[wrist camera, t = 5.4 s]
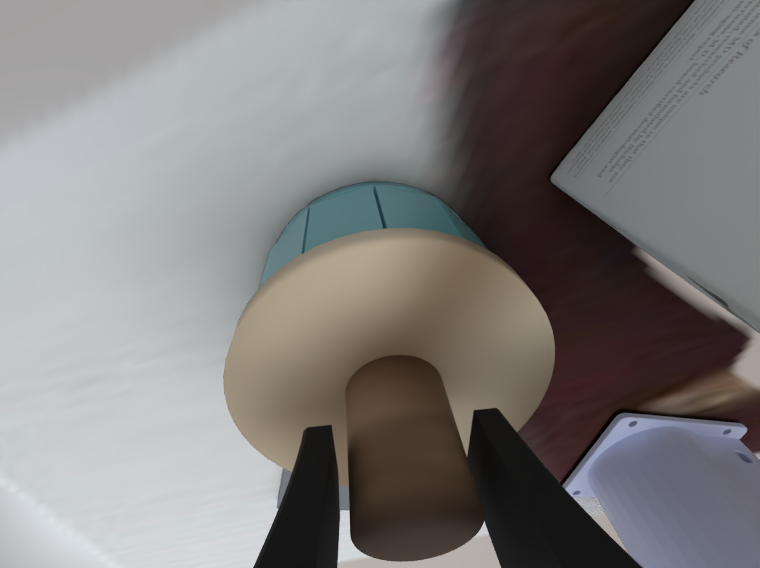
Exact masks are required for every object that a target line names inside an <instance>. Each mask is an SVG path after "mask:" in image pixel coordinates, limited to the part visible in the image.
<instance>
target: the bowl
mask: <svg viewBox="0 0 760 568" xmlns="http://www.w3.org/2000/svg"><path fill="white" fill-rule="evenodd" d="M386 228H415V229H424V230H432V231H438V232H442V233H446V234H450V235H454V236H458V237H461V238H463V239H466V240H468V241H471V242H473V243H476V244H478V245H480V246H482V247H484V248H485V249H487V248H486V247H485V245H484V244H483V243H482V241H481V240H480V238H479V237H478V236H477V235H476V234H475V233H474V232H473V231H472V230H471V229H470V228H469V227H468V226H467V225H466V224H465V223H464V222H463V220H462V219H461V218H460V217H459V216H458V215H457V214H456V212H455V211H454V210H453V209H452V208H450V207H449V206H448V205H447V204H446V203H444V202H443V201H442V200H440V199H439V198H437V197H435V196H433V195H432V194H430V193H427V192H425V191H423V190H420V189H418V188H415V187H411V186H408V185H404V184H398V183H391V182H367V183H359V184H354V185H350V186H346V187H342V188H339V189H337V190H334V191H332V192H329V193H327V194H325V195H323V196H321V197H319V198H318V199H316V200H314V201H312V202H311V203H310V204H309V205H307V206H306V207H305V208H303V209H302V210H301V211H300V212H299V213H298V214H297V215H296V216H295V217H294V218H293V219H292V220H291V221H290V222H289V223H288V225H287V226H286V227H285V229H284V230H283V231H282V233H281V235H280V237H279V239H278V241H277V242H276V244H275V245H274V247H273V248H272V249H271V250H270V252H269V254H268V258H267V261H266V265H265V268H264V271H263V275H262V278H261V282H260V285H259V288H260V286H261V285H262V284H264V283H265V282H266V281H267V280H268V279H269V278H270V277H271V276H272V275H273V274H274V273H275V272H276V271H277V270H279V269H280V268H281V267H283V266H284V265H286V264H287V263H288V262H290V261H291V260H293V259H294V258H295V257H297V256H299V255H301V254H303V253H305V252H307V251H308V250H310V249H312V248H314V247H316V246H318V245H321V244H324V243H326V242H329V241H331V240H334V239H337V238H339V237H343V236H347V235H351V234H355V233H359V232H363V231H371V230H379V229H386ZM259 288H258V289H259Z"/></svg>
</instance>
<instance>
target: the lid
mask: <svg viewBox="0 0 760 568" xmlns="http://www.w3.org/2000/svg"><path fill="white" fill-rule="evenodd" d="M554 362H555V343H554V337H553V331H552V328H551V325H550V322H549V320H548V317H547V314H546V313H545V311H544V309H543V308H542V306H541V304H540V303H539V301H538V299H537V298H536V297H535V295H534V294H533V293H532V292H531V290H530V289H529V288H528V286H527V285H526V284H525V283H524V281H523V280H522V279H521V278H520V277H519V276H518V274H517V273H516V272H515V271H514V270H513V269H512V268H511V267H510V266H509V265H508V264H507V263H506V262H504V261H503V260H502V259H501V258H499V257H498V256H497V255H495V254H494V253H492V252H490V251H489V250H487V249H485V248H484V247H482V246H480V245H478V244H476V243H473V242H471V241H468V240H466V239H463V238H461V237H458V236H454V235H450V234H446V233H442V232H438V231H432V230H424V229H415V228H386V229H379V230H371V231H363V232H359V233H355V234H351V235H347V236H343V237H339V238H337V239H334V240H331V241H329V242H326V243H324V244H321V245H318V246H316V247H314V248H312V249H310V250H308V251H307V252H305V253H303V254H301V255H299V256H297V257H295V258H294V259H293V260H291V261H290V262H288V263H287V264H286V265H284V266H283V267H281V268H280V269H279V270H277V271H276V272H275V273H274V274H273V275H272V276H271V277H270V278H269V279H268V280H267V281H266V282H265V283H264V284H262V285H261V286H260V288H259V289H258V290H257V292H256V293H255V294H254V296H253V297H252V298H251V299H250V301H249V302H248V304H247V306H246V307H245V309H244V311H243V313H242V315H241V317H240V319H239V321H238V324H237V327H236V330H235V333H234V336H233V339H232V342H231V345H230V348H229V351H228V354H227V357H226V362H225V369H224V376H223V378H224V394H225V398H226V402H227V406H228V409H229V412H230V414H231V416H232V419H233V421H234V423H235V424H236V426H237V427H238V429H239V430H240V432H241V433H242V435H243V436H244V437H245V438H246V439H247V441H248V442H249V443H250V444H251V445H252V446H253V447H254V448H255V449H256V450H258V451H259V452H260V453H261V454H262V455H264V456H265V457H266V458H268V459H269V460H271V461H272V462H274V463H276V464H277V465H279V466H280V467H283V468H285V469H287V470H289V471H291V472H292V471H293V468H294V465H295V462H296V459H297V455H298V452H299V448H300V444H301V440H302V436H303V431H304V430H305V429H306V428H307V427H314V426H324V425H332V431H333V438H334V445H335V452H336V459H337V466H338V473H339V485H341V486H349V507H350V534H351V540H352V542H353V544H354V545H355V547H356V548H357V549H358V550H360V551H361V552H362V553H364V554H366V555H368V556H371V557H373V558H377V559H381V560H387V561H417V560H422V559H428V558H432V557H436V556H439V555H442V554H445V553H448V552H450V551H452V550H455V549H457V548H458V547H460V546H462V545H464V544H465V543H466V542H468V541H469V540H471V539H472V538H473V537H474V536H475V535H476V534H477V533H478V532H479V530H480V529H481V527H482V525H483V522H484V517H485V514H484V509H483V506H482V503H481V500H480V497H479V494H478V491H477V488H476V484H475V481H474V478H473V475H472V472H471V469H470V466H469V462H468V459H467V454H468V447H469V440H470V433H471V426H472V419H473V412H474V410H480V409H489V408H497V409H499V410H500V411H501V412H502V414H503V415H504V416H505V418H506V419H507V420H508V422H509V423H510V424H511V426H512V427H513V428H514V429H515V431H516V432H518V431H519V430H520V428H521V427H522V426H523V425H524V424H525V423H526V422H527V421H528V420H529V419H530V417H531V416H532V414H533V413H534V412H535V410H536V409H537V407H538V406H539V404H540V402H541V401H542V399H543V397H544V395H545V393H546V391H547V388H548V386H549V383H550V380H551V377H552V373H553V367H554Z"/></svg>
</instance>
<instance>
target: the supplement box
mask: <svg viewBox="0 0 760 568" xmlns="http://www.w3.org/2000/svg"><path fill="white" fill-rule="evenodd" d="M551 182H552V183H553V184H554V185H556V186H557V187H558V188H560V189H561V190H562V191H564V192H565V193H567V194H568V195H569V196H571V197H572V198H573V199H575V200H576V201H577V202H579V203H580V204H582V205H583V206H584V207H586V208H587V209H588V210H590V211H591V212H592V213H594V214H595V215H596V216H598V217H599V218H600V219H602V220H603V221H605V222H606V223H607V224H609V225H610V226H611V227H613V228H614V229H615V230H617V231H618V232H619V233H621V234H622V235H623V236H625V237H626V238H627V239H629V240H630V241H631V242H633V243H634V244H635V245H637V246H638V247H640V248H641V249H642V250H644V251H645V252H647V253H648V254H649V255H651V256H652V257H654V258H655V259H656V260H658V261H659V262H660V263H662V264H663V265H665V266H666V267H667V268H669V269H670V270H672V271H673V272H674V273H676V274H677V275H679V276H680V277H681V278H683V279H684V280H685V281H687V282H688V283H690V284H691V285H692V286H694V287H695V288H696V289H698V290H699V291H700V292H702V293H703V294H705V295H706V296H708V297H709V298H710V299H712V300H713V301H715V302H716V303H717V304H719V305H720V306H722V307H723V308H724V309H726V310H727V311H729V312H730V313H732V314H733V315H734V316H736V317H737V318H739V319H740V320H742V321H743V322H744V323H746V324H747V325H749V326H750V327H752V328H753V329H754V330H756V331H757V332H759V333H760V0H695V1H694V2H693V3H692V4H691V6H690V7H689V8H688V9H687V11H686V12H685V13H684V14H683V15H682V17H681V18H680V19H679V20H678V21H677V22H676V24H675V25H674V26H673V27H672V28H671V30H670V31H669V32H668V33H667V35H666V36H665V37H664V38H663V39H662V40H661V42H660V43H659V44H658V46H657V47H656V48H655V49H654V50H653V52H652V53H651V54H650V55H649V57H648V58H647V59H646V60H645V61H644V62H643V64H642V65H641V66H640V67H639V68H638V69H637V71H636V72H635V73H634V74H633V76H632V77H631V78H630V79H629V81H628V82H627V83H626V84H625V86H624V87H623V88H622V89H621V90H620V91H619V93H618V94H617V95H616V96H615V97H614V99H613V100H612V101H611V102H610V103H609V104H608V106H607V107H606V108H605V110H604V111H603V112H602V113H601V114H600V116H599V117H598V118H597V119H596V121H595V122H594V123H593V124H592V125H591V127H590V128H589V129H588V130H587V131H586V133H585V134H584V135H583V136H582V138H581V139H580V140H579V141H578V143H577V144H576V145H575V146H574V148H573V149H572V150H571V151H570V152H569V153H568V154H567V156H566V157H565V158H564V160H563V161H562V162H561V163H560V165H559V166H558V167H557V169H556V170H555V171H554V173H553V174H552V176H551Z"/></svg>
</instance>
